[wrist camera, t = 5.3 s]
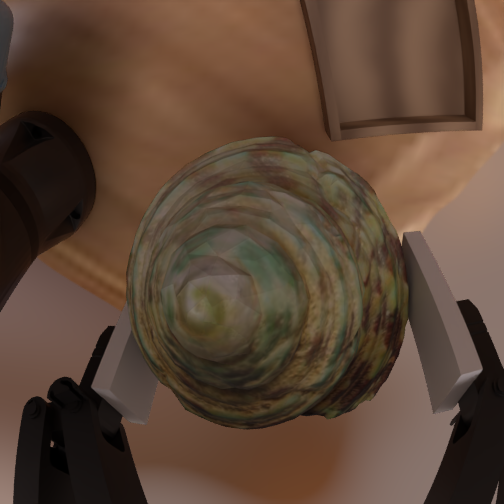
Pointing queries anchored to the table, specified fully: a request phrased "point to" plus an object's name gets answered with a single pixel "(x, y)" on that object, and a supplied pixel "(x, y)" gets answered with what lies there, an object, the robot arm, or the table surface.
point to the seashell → (267, 286)
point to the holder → (396, 65)
